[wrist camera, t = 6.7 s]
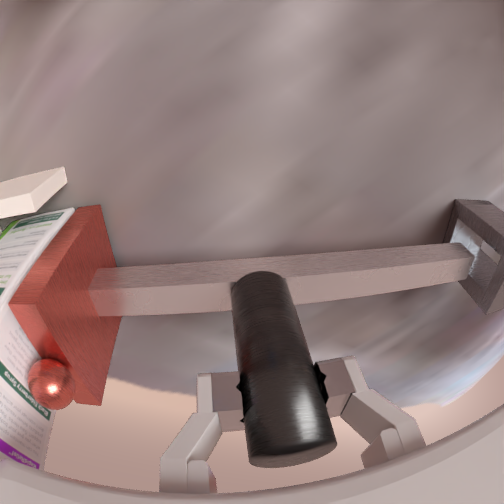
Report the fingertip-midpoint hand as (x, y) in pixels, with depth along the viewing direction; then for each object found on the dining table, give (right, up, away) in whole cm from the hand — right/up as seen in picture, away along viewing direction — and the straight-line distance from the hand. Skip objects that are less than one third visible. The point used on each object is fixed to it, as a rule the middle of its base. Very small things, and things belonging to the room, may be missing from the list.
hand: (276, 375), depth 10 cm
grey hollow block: (+17, +6, +10) cm, 20 cm away
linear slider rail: (+1, +5, +8) cm, 9 cm away
